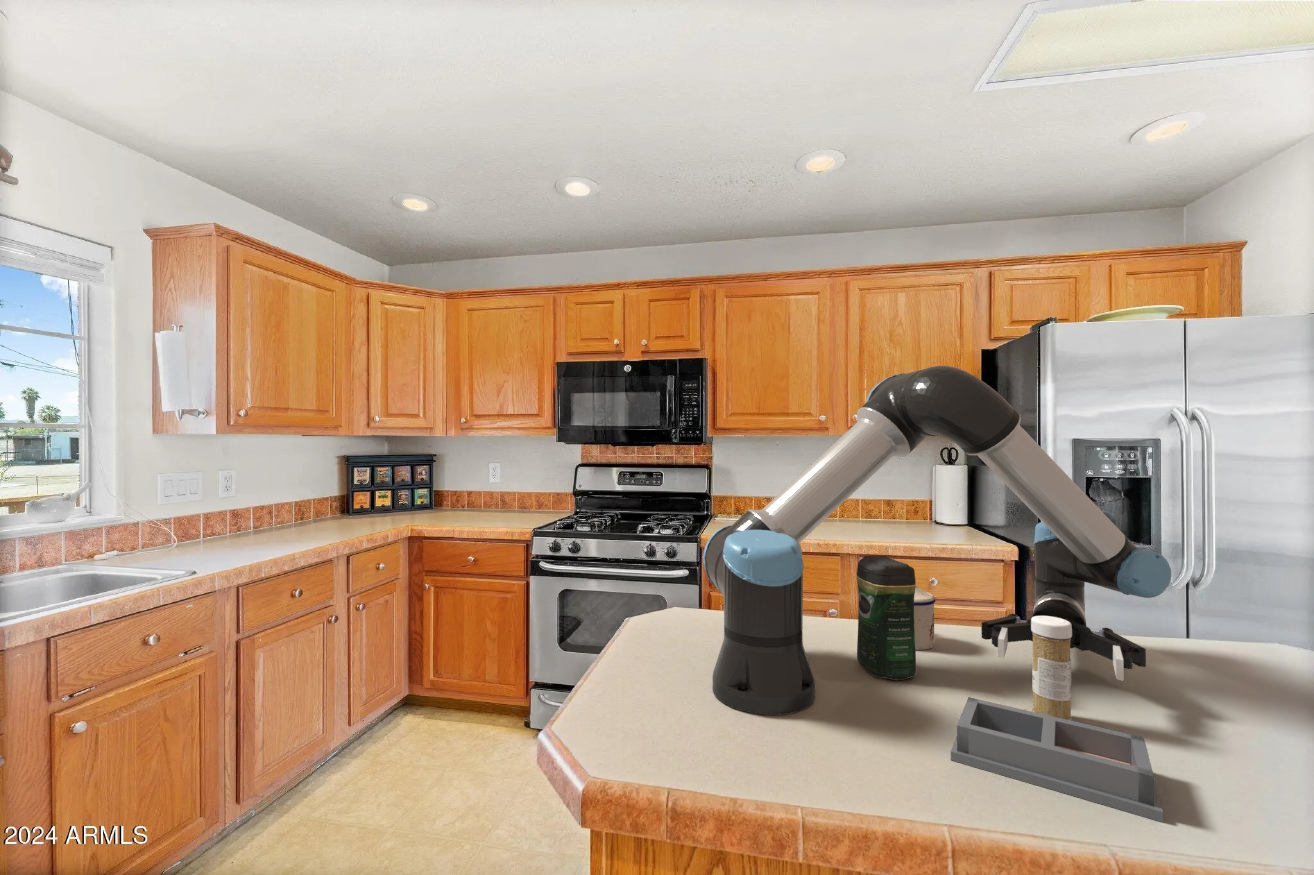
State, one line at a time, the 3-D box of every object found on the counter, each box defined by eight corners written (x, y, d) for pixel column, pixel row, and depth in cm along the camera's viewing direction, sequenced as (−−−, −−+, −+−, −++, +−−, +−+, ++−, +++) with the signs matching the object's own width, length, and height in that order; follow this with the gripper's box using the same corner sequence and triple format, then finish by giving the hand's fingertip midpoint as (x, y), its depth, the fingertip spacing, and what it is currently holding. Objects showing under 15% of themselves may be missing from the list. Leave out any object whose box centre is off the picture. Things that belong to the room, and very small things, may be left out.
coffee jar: (925, 681, 89) (924, 563, 90) (876, 683, 89) (876, 564, 89) (894, 658, 99) (893, 551, 99) (850, 659, 98) (849, 552, 99)
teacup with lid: (943, 652, 102) (943, 587, 102) (891, 650, 103) (891, 585, 103) (919, 630, 114) (919, 572, 114) (872, 629, 115) (872, 571, 115)
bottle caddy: (950, 759, 67) (950, 725, 67) (964, 724, 76) (964, 694, 76) (1163, 822, 56) (1162, 781, 56) (1150, 772, 64) (1150, 736, 65)
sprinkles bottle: (1036, 707, 80) (1035, 612, 81) (1076, 719, 77) (1075, 619, 77) (1027, 718, 77) (1027, 619, 77) (1068, 730, 74) (1067, 627, 74)
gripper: (1155, 659, 90) (1177, 709, 72) (975, 629, 104) (957, 665, 87) (1155, 611, 90) (1176, 650, 72) (975, 588, 104) (957, 615, 87)
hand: (1057, 658), depth 80 cm, fingers open, 13 cm apart
